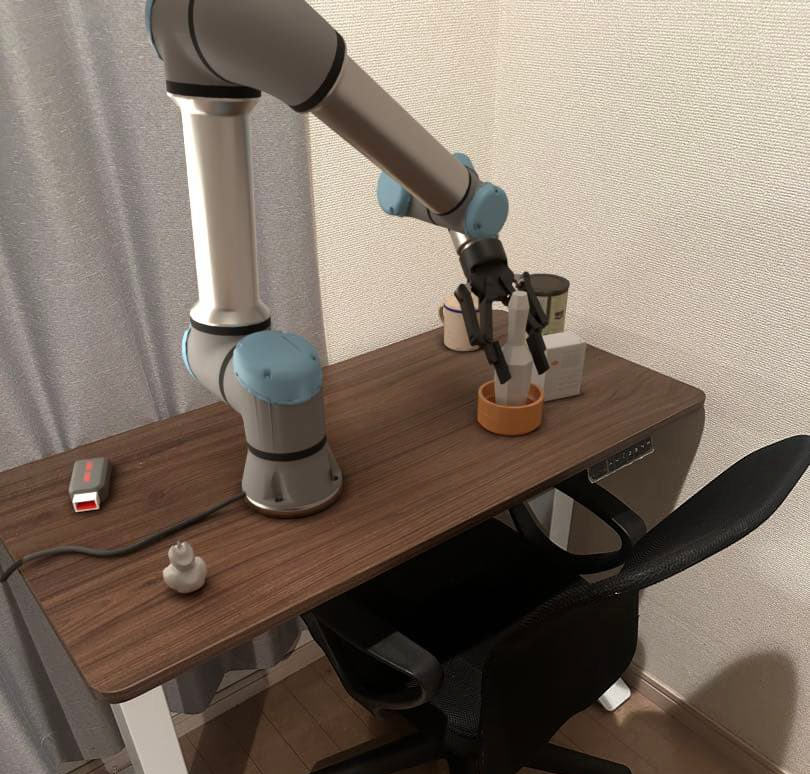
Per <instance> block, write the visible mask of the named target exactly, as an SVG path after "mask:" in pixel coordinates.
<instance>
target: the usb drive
mask: <svg viewBox="0 0 810 774" xmlns="http://www.w3.org/2000/svg"><path fill="white" fill-rule="evenodd" d="M112 472H113V466H112V463H111V460H110V458H108V457H106V456H101V457H93V458H92V457H91V458H85V459H78V460H76V461H75V462H74V465H73V468H72V473H71V478H70V482H69V486H68V494H69V497H70V500H71V502H72V505H73V508H74V511H75V512H76V513H79V512H85V511H86V512H87V511H94V510H100V505H101V503H104V502H105V501H106V500H107V499H108V498H109V492H110V485H111V478H112Z"/></svg>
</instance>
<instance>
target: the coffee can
mask: <svg viewBox="0 0 810 774" xmlns="http://www.w3.org/2000/svg"><path fill="white" fill-rule="evenodd" d="M529 274H530V273H529ZM530 281H531V285H532V288H533V290H534V292H535V294H536V296H537V298H538V300H539V302H540V305H541V307H542V309H543V311H544V313H545V315H546V317H547V319H548V322H549V324H548V325H547V326H546V327H545V328H544V329H543V330H542V331H541V334H542V336H544V335H550V334H555V333H561V332H565V323H566V313H567V305H568V296H569V289H570V286H571V282H570V280H569V279H568V278H565V277H563V276H561V275H557V274H553V273H531V274H530ZM516 291H518V288H516ZM528 337H529V335H528V334H527V333H526V331H525V341H524V343H525V344H526V346H527V347H528V345H527V342H526V339H527V338H528ZM528 349H529V348H528ZM529 351H530V350H529Z"/></svg>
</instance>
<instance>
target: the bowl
mask: <svg viewBox="0 0 810 774" xmlns="http://www.w3.org/2000/svg"><path fill="white" fill-rule="evenodd" d="M544 396H545V394H544V391H543V389H542V388H540V387H539V386H538V385H536V384H534V383H532V382H531V384H530V388H529V392H528V397H527V401H526V405H525V406H519V407H509V406H502V405H498V404H496V403H495V383H494V379H492V380H490V381H489V380H488V381H486V382H484V383H483V384H482V385H480V386H479V388H478V390H477V404H476V405H477V407H476V420H477V422H478V423H479V424H480V425H481V426H482V427H483V428H484V429H485V430H486V431H489V432H491V433H494V434H496V435H500V436H501V435H502V436H521V435H525V434H528V433H531V432H533V431H534V430H536V429H537V428H538V427H539V426H541V423H542V420H543V415H544V413H543V412H544V403H545V402H544Z"/></svg>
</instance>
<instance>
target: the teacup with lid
mask: <svg viewBox="0 0 810 774" xmlns="http://www.w3.org/2000/svg"><path fill="white" fill-rule="evenodd" d="M471 296H472V299H473V303H474V307H475V311H476V315H477V319H478V322H479V326H480V310H479V309H478V297H477V296H476V295H475V294H474V293H472V292H471ZM437 315H438V319H439V321H440V323H441V324H442V326H444V327H443V344H444V345H445V347H447V348H449V349H450V350H452V351H457V352H472V351H477V350H480V348H479V346H477V345H476V346H471V345H470V343H469V339H468V335H467V331H466V327H465V323H464V319H463V315H462V311H461V307H460V304H459V302H458V301H457V299H456V297H455V296H454V294H451V295H449V296H447V297H446V298H444V301H443V302H442V303H440V304H439V305H438V308H437Z"/></svg>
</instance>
